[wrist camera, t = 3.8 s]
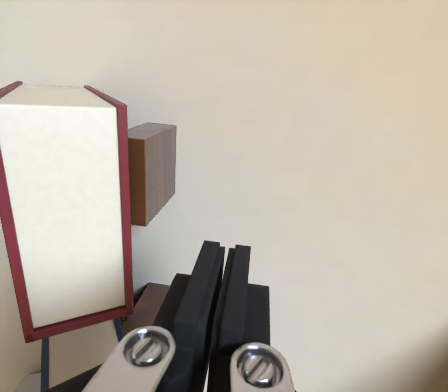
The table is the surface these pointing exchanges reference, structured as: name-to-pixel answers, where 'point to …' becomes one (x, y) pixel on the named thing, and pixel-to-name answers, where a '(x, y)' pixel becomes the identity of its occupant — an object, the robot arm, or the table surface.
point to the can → (30, 383)
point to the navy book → (77, 351)
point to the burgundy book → (65, 206)
